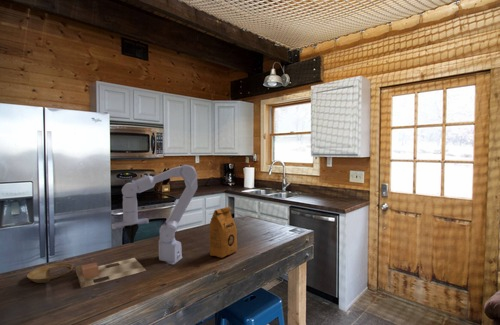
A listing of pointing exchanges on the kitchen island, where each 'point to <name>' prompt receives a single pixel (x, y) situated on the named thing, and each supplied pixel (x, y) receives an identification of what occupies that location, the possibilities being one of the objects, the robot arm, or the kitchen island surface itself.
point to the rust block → (89, 270)
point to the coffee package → (222, 233)
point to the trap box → (112, 271)
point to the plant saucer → (46, 273)
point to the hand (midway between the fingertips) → (131, 242)
